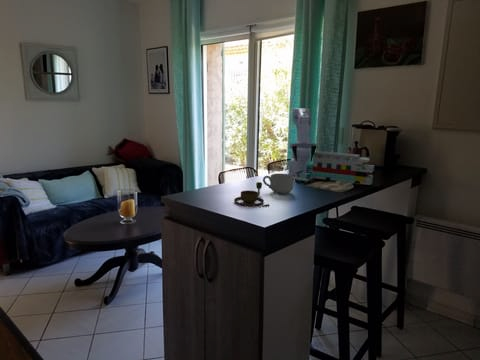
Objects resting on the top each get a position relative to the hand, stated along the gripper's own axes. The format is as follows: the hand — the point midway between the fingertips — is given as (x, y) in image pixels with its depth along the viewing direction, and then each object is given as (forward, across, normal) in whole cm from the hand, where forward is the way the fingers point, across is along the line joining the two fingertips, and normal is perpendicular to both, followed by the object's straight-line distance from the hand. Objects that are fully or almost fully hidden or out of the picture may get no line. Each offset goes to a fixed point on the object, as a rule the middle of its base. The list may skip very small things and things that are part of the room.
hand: (303, 160), depth 182 cm
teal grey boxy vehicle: (+10, 0, +5) cm, 11 cm away
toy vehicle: (+8, +20, +11) cm, 24 cm away
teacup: (+23, -12, -18) cm, 31 cm away
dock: (+15, +13, 0) cm, 20 cm away
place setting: (+32, -20, -32) cm, 49 cm away
